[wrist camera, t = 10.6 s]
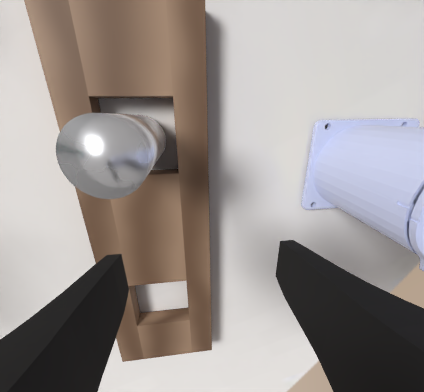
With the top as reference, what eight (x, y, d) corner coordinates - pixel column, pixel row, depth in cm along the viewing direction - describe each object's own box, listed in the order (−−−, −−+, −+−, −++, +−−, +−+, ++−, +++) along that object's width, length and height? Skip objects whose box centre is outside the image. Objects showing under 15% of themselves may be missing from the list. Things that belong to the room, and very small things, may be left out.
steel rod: (165, 116, 15) (146, 116, 8) (166, 163, 17) (149, 199, 9) (116, 113, 15) (47, 109, 8) (120, 161, 16) (65, 198, 9)
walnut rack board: (203, 8, 13) (204, -4, 12) (210, 337, 25) (211, 349, 24) (39, 1, 12) (20, -13, 11) (126, 347, 24) (122, 361, 23)
